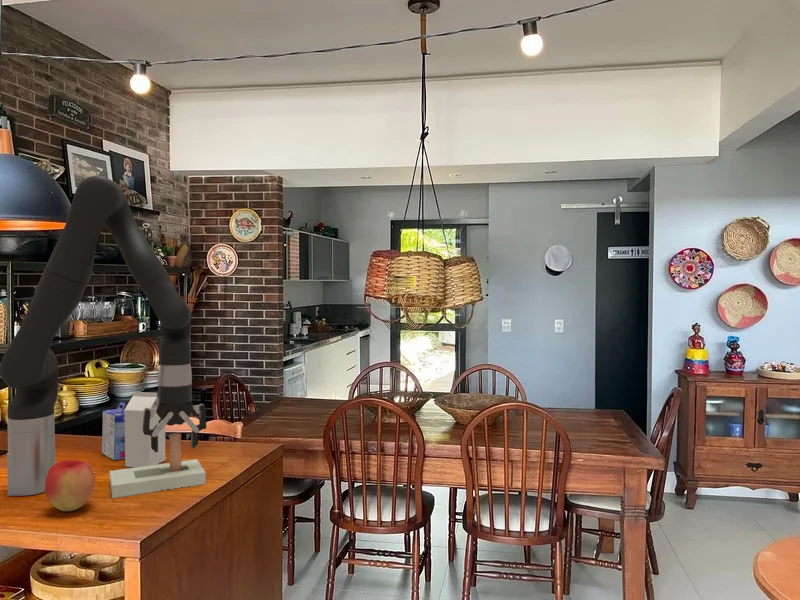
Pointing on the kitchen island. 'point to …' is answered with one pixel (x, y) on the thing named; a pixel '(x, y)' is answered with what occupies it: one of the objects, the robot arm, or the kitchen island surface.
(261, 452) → the kitchen island surface
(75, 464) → the apple
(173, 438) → the headed peg
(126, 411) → the milk carton
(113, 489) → the keyhole board
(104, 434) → the ink cartridge box
